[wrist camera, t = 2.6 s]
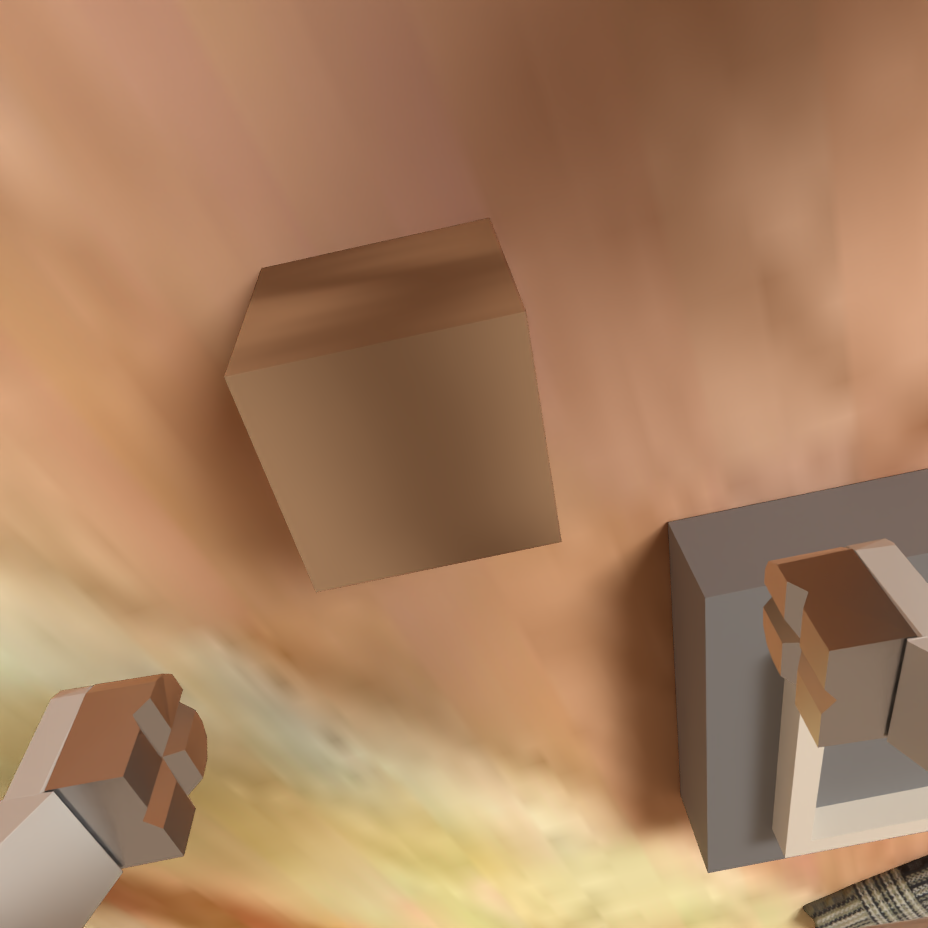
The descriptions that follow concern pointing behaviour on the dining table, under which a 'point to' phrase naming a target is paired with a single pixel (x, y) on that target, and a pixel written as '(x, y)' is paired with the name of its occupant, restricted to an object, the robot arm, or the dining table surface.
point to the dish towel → (876, 899)
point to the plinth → (779, 683)
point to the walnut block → (397, 406)
